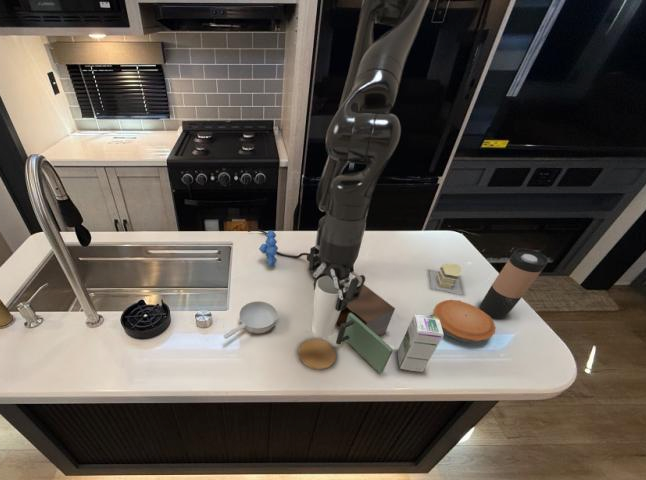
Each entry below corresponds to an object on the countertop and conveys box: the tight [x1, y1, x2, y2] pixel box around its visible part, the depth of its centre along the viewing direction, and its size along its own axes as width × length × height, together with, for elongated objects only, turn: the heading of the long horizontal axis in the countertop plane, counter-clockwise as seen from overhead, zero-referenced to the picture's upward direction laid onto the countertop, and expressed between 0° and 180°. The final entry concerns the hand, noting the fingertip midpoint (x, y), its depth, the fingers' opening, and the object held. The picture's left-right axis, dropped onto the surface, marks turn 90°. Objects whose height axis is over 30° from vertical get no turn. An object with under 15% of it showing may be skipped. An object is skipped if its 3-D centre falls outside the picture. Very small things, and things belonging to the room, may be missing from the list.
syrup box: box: [396, 313, 445, 373], centre depth 76 cm, size 6×6×14 cm
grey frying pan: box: [223, 300, 278, 339], centre depth 89 cm, size 11×18×4 cm, turn 134°
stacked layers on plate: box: [429, 263, 463, 295], centre depth 103 cm, size 10×9×6 cm
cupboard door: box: [335, 313, 394, 375], centre depth 79 cm, size 14×5×9 cm, turn 30°
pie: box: [432, 299, 496, 343], centre depth 88 cm, size 15×16×5 cm
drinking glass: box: [311, 276, 346, 339], centre depth 72 cm, size 7×7×15 cm
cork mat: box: [298, 339, 337, 370], centre depth 83 cm, size 10×10×1 cm
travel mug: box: [478, 248, 549, 320], centre depth 88 cm, size 8×8×20 cm
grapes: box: [258, 229, 279, 268], centre depth 110 cm, size 12×7×12 cm, turn 2°
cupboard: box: [335, 279, 396, 338], centre depth 88 cm, size 16×10×10 cm, turn 30°
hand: (328, 299), depth 70 cm, fingers closed on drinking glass, 7 cm apart
